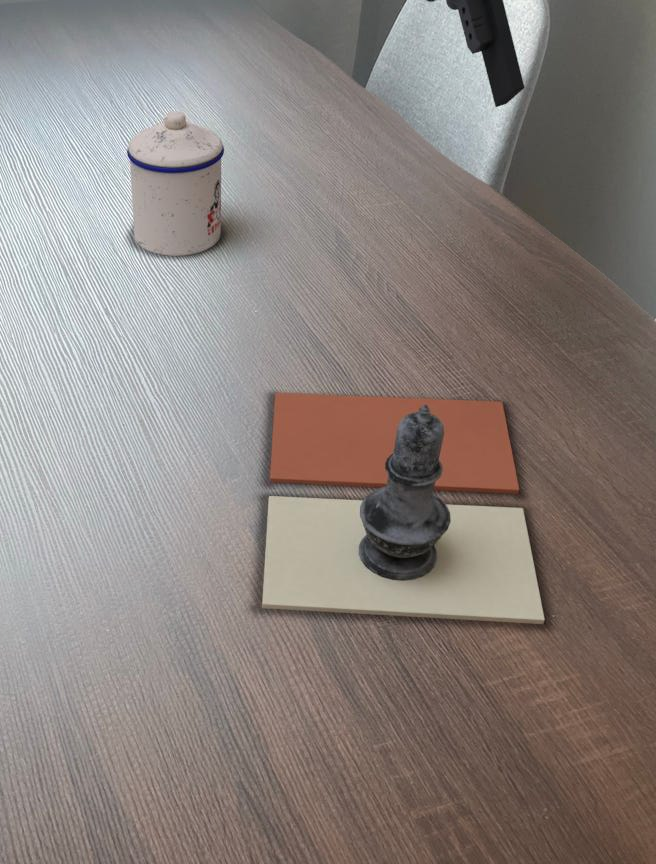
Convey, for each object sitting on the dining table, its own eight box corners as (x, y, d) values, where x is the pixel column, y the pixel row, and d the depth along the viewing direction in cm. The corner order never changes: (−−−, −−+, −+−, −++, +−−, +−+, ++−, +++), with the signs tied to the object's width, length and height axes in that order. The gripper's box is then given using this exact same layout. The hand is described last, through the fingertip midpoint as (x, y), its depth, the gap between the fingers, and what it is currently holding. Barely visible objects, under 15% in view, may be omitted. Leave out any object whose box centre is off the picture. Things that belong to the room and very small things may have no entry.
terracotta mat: (500, 407, 82) (502, 401, 81) (517, 496, 74) (519, 489, 74) (274, 398, 83) (275, 392, 83) (269, 484, 76) (270, 478, 75)
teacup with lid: (229, 255, 99) (231, 130, 91) (136, 262, 99) (129, 137, 90) (211, 200, 108) (211, 81, 99) (125, 207, 107) (118, 87, 98)
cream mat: (521, 514, 73) (523, 507, 73) (542, 626, 66) (545, 619, 65) (268, 501, 74) (268, 495, 74) (261, 610, 67) (262, 603, 67)
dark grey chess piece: (454, 542, 70) (490, 393, 61) (422, 595, 67) (455, 446, 58) (374, 514, 72) (398, 367, 63) (339, 564, 69) (359, 416, 60)
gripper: (673, -300, 67) (745, 36, 70) (316, -194, 65) (408, 143, 69) (749, -399, 59) (825, -18, 63) (349, -282, 58) (449, 101, 62)
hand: (607, 67), depth 66 cm, fingers open, 13 cm apart
